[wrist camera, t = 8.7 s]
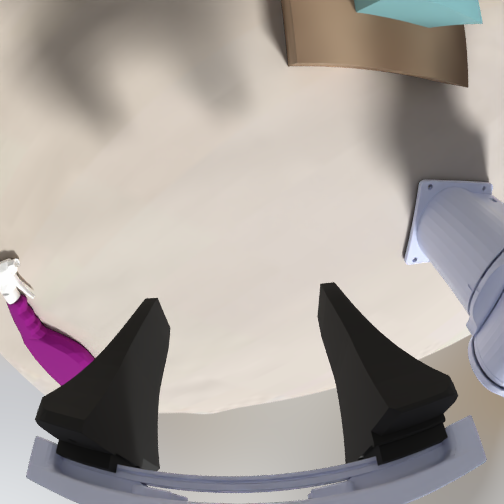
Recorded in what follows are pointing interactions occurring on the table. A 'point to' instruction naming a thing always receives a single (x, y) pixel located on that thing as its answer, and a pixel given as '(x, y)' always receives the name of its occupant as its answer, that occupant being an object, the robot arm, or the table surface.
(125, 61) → the table surface
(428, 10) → the teal cube
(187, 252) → the table surface
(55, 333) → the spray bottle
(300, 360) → the table surface
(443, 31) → the walnut base
